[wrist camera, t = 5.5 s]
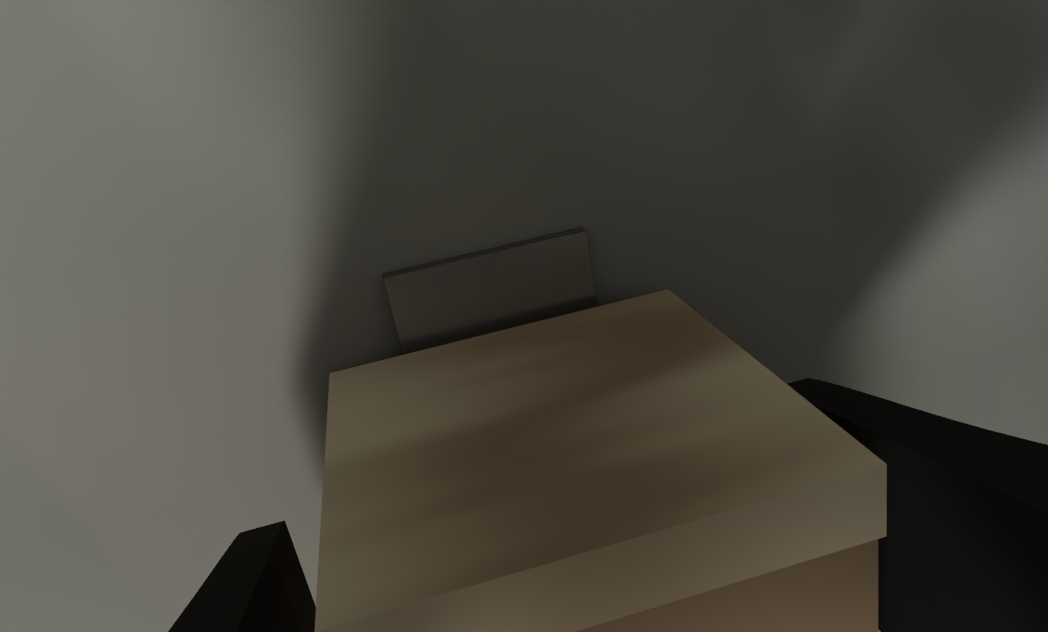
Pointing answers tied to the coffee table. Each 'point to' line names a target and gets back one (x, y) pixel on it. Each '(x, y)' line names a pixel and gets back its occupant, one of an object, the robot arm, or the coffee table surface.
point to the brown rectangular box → (593, 487)
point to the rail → (491, 290)
